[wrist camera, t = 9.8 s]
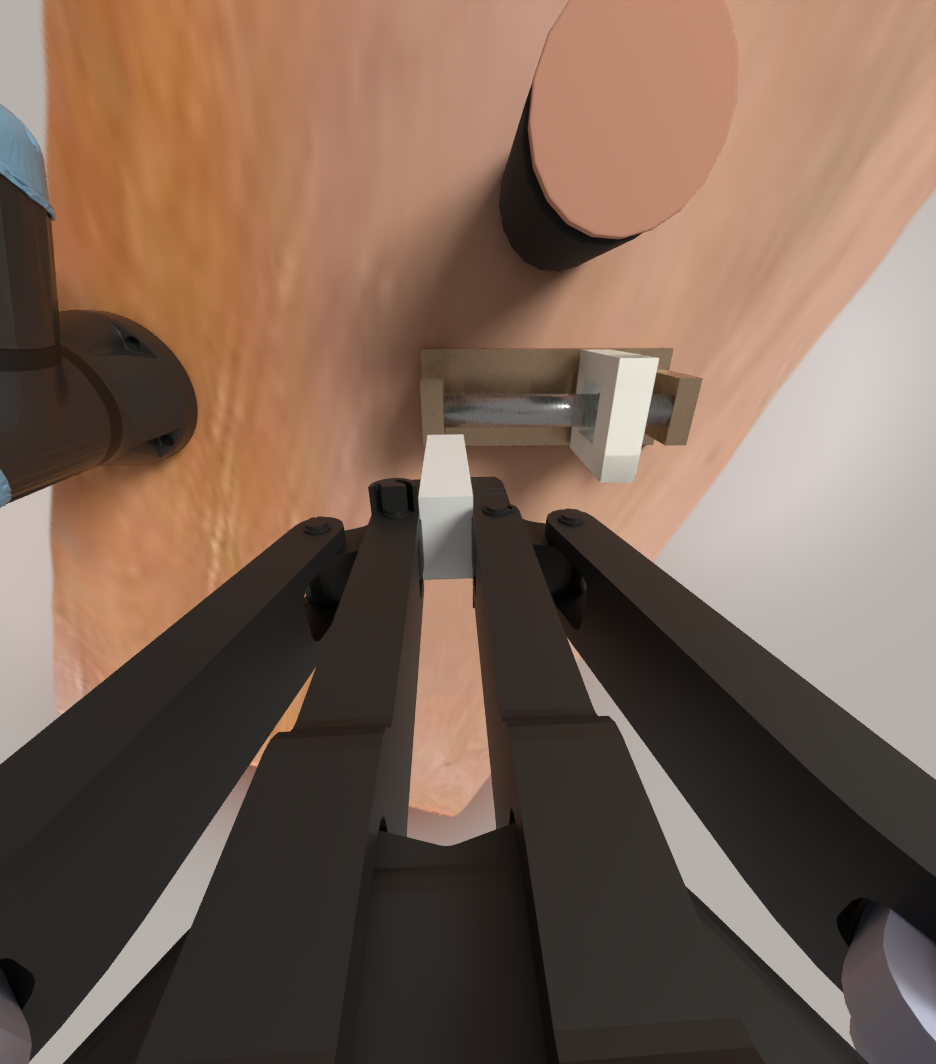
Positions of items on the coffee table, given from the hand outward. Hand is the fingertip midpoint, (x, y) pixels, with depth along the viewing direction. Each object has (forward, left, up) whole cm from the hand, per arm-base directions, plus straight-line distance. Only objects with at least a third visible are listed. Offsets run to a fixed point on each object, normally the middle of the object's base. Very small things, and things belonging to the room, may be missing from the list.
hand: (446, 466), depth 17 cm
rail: (+10, -2, -29) cm, 31 cm away
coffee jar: (+10, +15, -30) cm, 35 cm away
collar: (+14, -2, -27) cm, 31 cm away
